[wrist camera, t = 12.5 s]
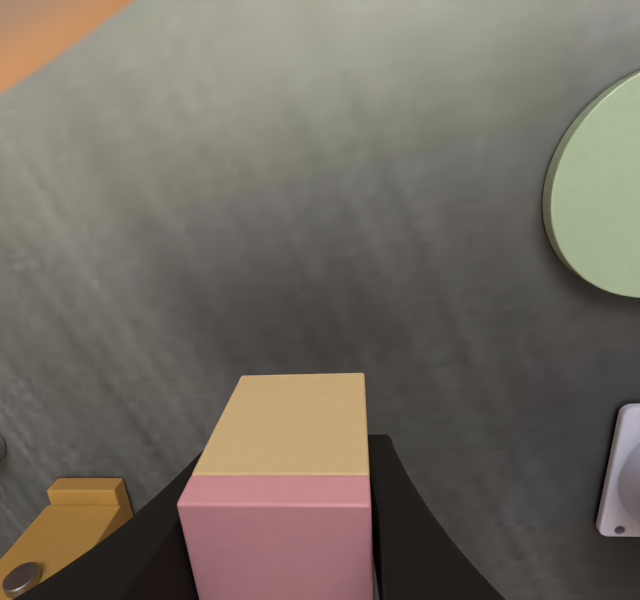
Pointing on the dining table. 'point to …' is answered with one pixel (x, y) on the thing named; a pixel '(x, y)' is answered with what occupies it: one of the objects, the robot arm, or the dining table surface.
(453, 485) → the dining table surface
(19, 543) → the stand
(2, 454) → the push button
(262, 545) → the cake slice
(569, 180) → the plate
